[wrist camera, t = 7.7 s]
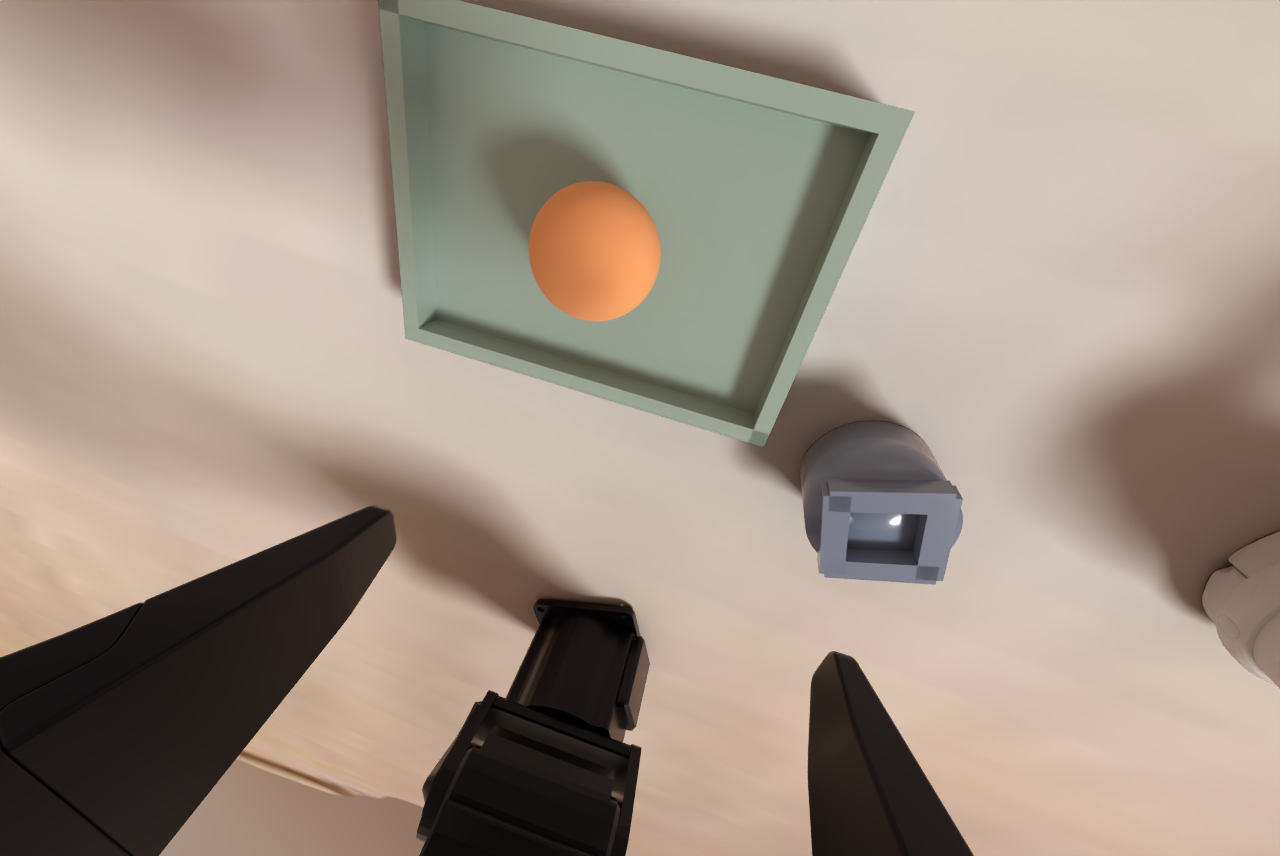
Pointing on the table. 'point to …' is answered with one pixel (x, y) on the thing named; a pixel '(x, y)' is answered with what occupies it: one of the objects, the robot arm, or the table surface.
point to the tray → (646, 168)
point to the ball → (594, 251)
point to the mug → (1249, 607)
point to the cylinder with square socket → (878, 505)
